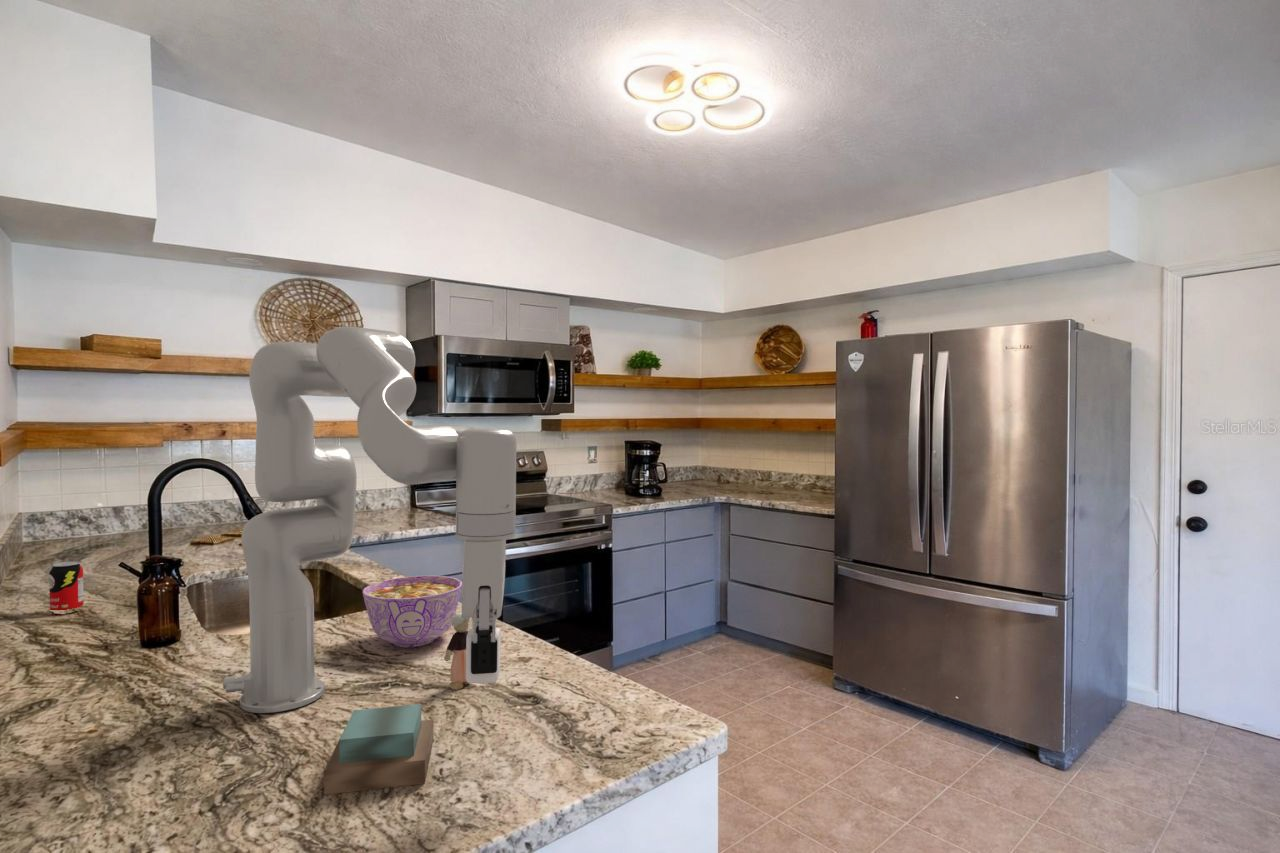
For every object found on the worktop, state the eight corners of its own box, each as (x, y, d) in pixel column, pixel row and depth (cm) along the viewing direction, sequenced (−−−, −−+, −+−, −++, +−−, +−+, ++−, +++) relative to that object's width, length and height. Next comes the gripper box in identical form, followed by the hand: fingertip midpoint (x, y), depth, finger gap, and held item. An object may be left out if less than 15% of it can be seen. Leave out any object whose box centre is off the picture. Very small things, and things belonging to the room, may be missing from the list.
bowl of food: (407, 664, 129) (406, 604, 129) (342, 646, 139) (341, 590, 139) (482, 635, 146) (482, 582, 146) (419, 621, 156) (419, 571, 156)
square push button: (324, 794, 84) (323, 746, 84) (345, 748, 96) (344, 706, 96) (425, 783, 87) (424, 736, 87) (433, 739, 98) (433, 698, 98)
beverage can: (59, 609, 168) (58, 561, 168) (89, 607, 170) (88, 560, 170) (43, 616, 162) (43, 566, 162) (74, 615, 164) (73, 565, 163)
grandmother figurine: (461, 692, 115) (461, 618, 115) (441, 691, 116) (440, 617, 116) (481, 675, 123) (480, 606, 123) (461, 674, 124) (461, 605, 124)
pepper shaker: (497, 684, 86) (498, 609, 86) (464, 685, 85) (466, 609, 85) (500, 672, 90) (501, 601, 90) (469, 673, 89) (470, 601, 89)
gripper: (459, 514, 95) (457, 644, 95) (451, 537, 78) (449, 694, 79) (513, 514, 96) (512, 641, 97) (517, 536, 80) (515, 690, 80)
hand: (484, 663), depth 88 cm, fingers closed on pepper shaker, 4 cm apart
